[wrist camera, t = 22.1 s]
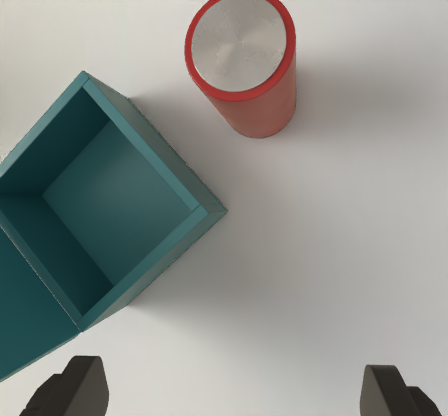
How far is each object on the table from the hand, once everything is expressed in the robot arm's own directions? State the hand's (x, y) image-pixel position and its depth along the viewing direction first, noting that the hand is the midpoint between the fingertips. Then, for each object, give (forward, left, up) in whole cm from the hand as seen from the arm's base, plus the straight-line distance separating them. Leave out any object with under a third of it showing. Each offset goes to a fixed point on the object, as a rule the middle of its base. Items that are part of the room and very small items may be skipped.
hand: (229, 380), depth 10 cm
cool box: (-10, -12, -20) cm, 25 cm away
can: (-14, +3, -20) cm, 25 cm away
